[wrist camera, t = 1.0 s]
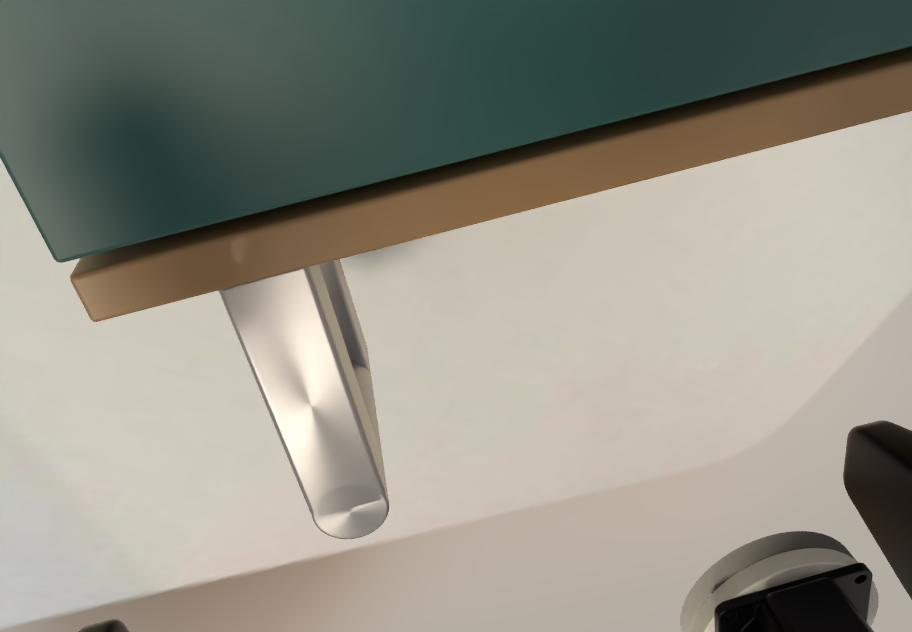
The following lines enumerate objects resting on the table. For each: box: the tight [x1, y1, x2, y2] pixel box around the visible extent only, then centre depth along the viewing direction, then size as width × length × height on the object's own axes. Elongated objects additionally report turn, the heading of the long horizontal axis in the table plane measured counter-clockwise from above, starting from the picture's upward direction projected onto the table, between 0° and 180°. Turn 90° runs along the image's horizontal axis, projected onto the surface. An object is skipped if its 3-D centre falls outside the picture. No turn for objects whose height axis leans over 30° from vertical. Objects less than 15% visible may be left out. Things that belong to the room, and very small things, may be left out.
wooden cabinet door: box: [70, 46, 912, 539], centre depth 17 cm, size 6×17×9 cm, turn 101°
